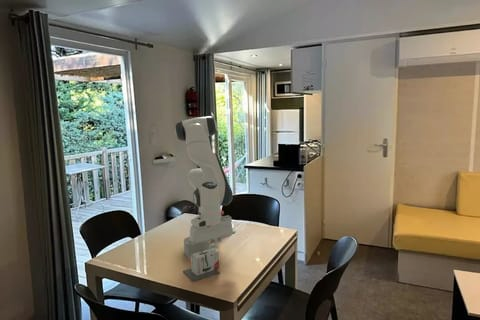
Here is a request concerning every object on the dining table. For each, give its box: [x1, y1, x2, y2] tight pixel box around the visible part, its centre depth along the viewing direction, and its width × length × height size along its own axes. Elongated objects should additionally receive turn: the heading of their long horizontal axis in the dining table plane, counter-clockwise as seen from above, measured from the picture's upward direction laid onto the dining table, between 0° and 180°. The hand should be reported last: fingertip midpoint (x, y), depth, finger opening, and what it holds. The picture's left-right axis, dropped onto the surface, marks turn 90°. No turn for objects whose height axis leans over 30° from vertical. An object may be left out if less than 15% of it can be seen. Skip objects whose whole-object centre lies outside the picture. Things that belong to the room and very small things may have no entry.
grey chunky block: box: [183, 236, 209, 259], centre depth 174 cm, size 10×13×9 cm
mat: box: [182, 267, 221, 282], centre depth 153 cm, size 13×11×1 cm
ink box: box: [190, 248, 220, 276], centre depth 153 cm, size 8×5×12 cm
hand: (212, 248), depth 155 cm, fingers closed
